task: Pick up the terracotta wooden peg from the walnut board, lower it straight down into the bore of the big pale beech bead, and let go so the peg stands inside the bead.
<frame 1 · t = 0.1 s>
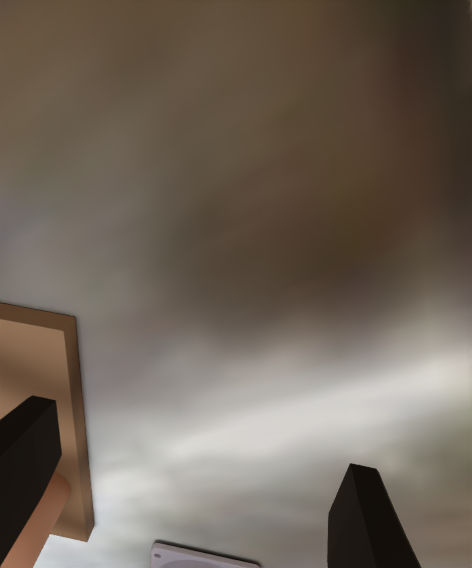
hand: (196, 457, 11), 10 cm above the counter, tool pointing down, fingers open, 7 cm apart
peg: (44, 483, 28), point 1 cm above the counter, touching board
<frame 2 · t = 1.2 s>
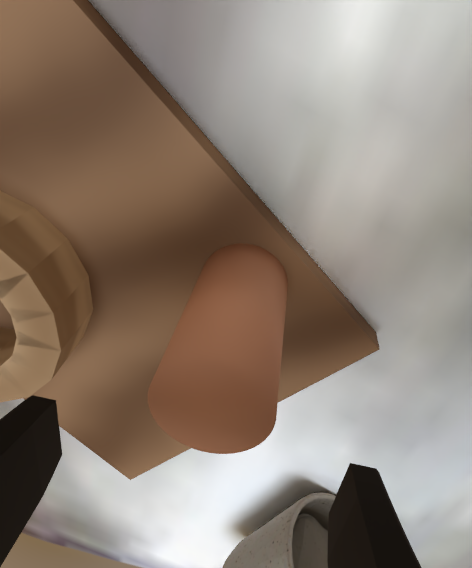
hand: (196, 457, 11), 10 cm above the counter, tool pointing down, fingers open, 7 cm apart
board: (104, 286, 21), on the counter
ceramic mug: (321, 528, 28), on the counter
peg: (244, 283, 18), point 1 cm above the counter, touching board
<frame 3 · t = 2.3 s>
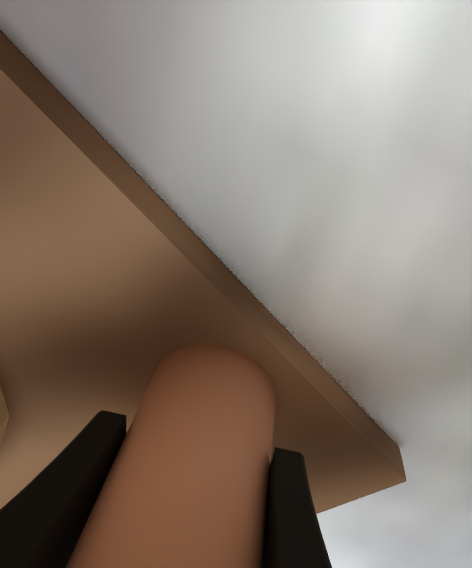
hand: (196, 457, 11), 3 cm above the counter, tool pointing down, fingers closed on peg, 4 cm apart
board: (28, 378, 15), on the counter
peg: (213, 393, 13), point 1 cm above the counter, touching board, gripper
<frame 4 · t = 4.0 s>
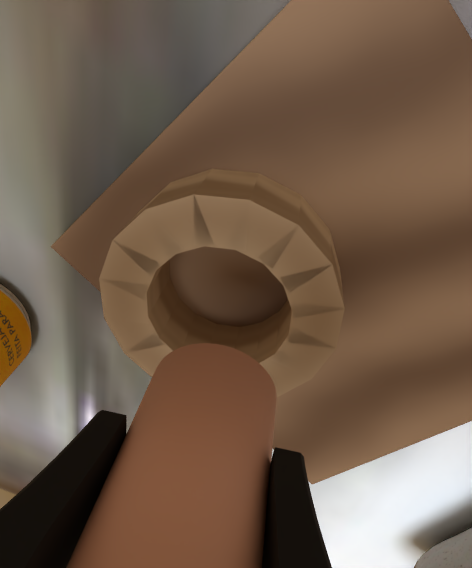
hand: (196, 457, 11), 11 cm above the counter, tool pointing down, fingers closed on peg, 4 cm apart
board: (335, 280, 19), on the counter
peg: (214, 393, 13), point 8 cm above the counter, touching gripper
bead: (230, 274, 19), resting on board
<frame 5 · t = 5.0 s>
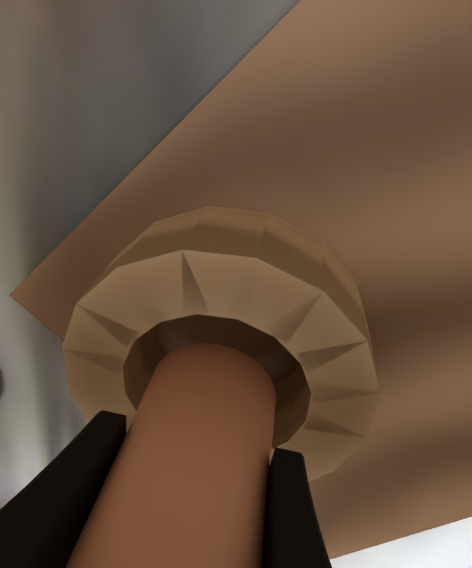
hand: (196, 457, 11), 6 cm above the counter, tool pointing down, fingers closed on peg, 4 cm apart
board: (360, 336, 16), on the counter
peg: (213, 393, 13), point 4 cm above the counter, touching gripper
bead: (230, 331, 15), resting on board
when the fingers open (5 cm above the counter, at t = 5.6 s): peg drops 2 cm, resting on board.
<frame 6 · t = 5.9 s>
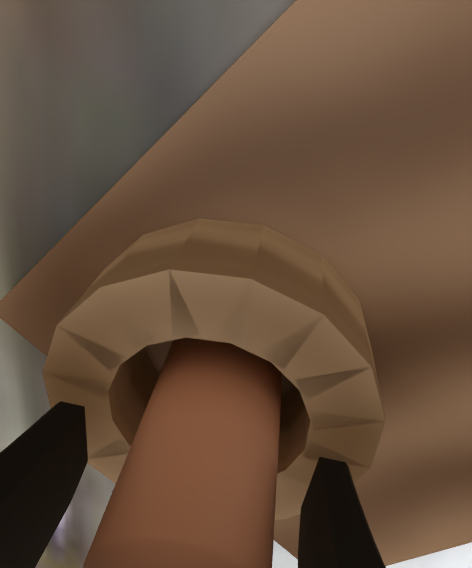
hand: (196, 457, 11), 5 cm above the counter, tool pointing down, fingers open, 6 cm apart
board: (362, 353, 15), on the counter
peg: (228, 351, 14), point 1 cm above the counter, touching board
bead: (225, 349, 14), resting on board
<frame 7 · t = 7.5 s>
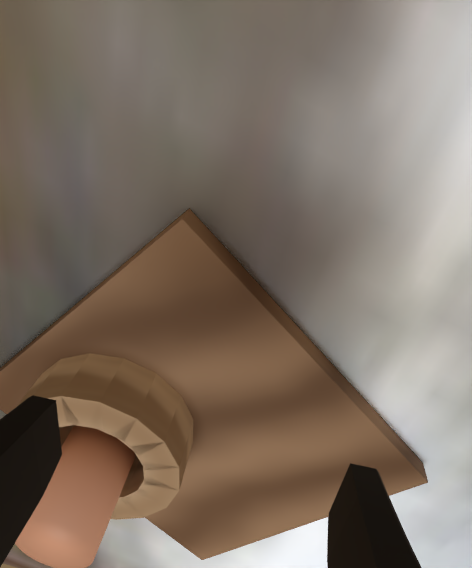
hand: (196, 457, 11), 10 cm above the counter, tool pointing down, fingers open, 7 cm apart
board: (199, 418, 25), on the counter
peg: (116, 418, 24), point 1 cm above the counter, touching board
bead: (114, 418, 24), resting on board
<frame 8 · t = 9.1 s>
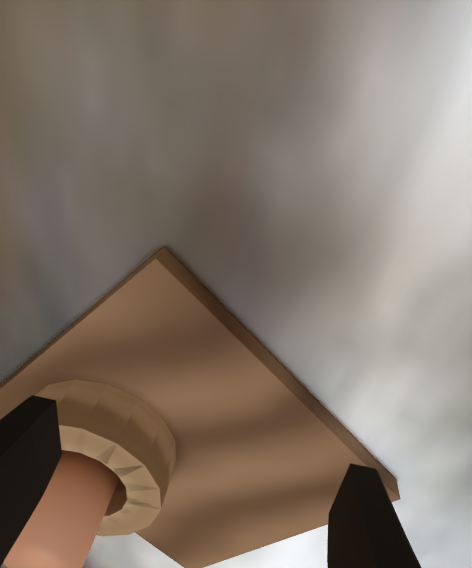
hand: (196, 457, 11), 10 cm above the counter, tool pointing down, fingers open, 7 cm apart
board: (182, 438, 26), on the counter
peg: (102, 439, 25), point 1 cm above the counter, touching board
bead: (100, 439, 25), resting on board
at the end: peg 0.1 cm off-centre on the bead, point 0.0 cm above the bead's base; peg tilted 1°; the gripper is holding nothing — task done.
